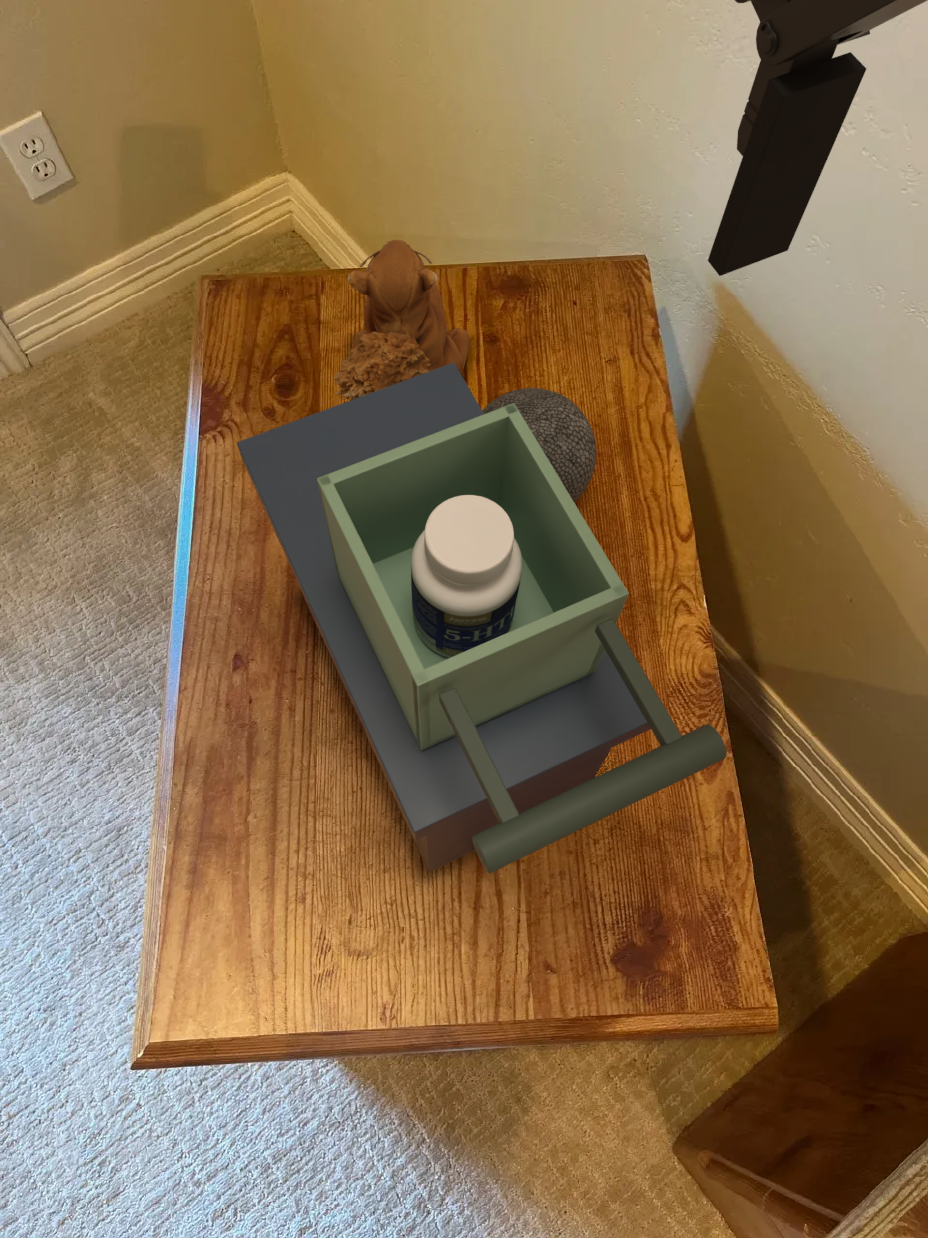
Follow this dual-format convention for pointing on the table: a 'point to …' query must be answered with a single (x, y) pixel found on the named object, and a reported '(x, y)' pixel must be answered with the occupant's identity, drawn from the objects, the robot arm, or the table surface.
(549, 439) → the decorative ball
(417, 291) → the stuffed squirrel
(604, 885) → the table surface
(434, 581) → the pill bottle
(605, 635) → the basket
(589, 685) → the gray rectangular block
